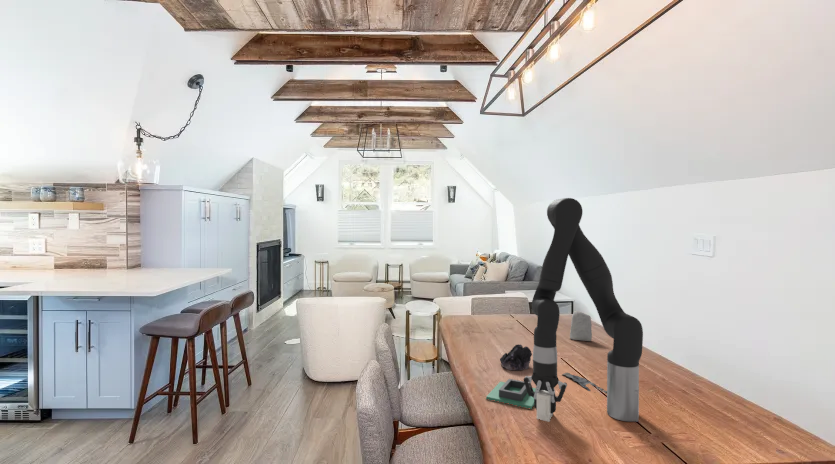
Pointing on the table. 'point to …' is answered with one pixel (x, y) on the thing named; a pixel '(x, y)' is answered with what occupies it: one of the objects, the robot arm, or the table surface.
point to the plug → (544, 406)
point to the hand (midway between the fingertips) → (544, 410)
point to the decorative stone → (581, 327)
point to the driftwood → (583, 381)
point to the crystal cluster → (517, 358)
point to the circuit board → (512, 393)
